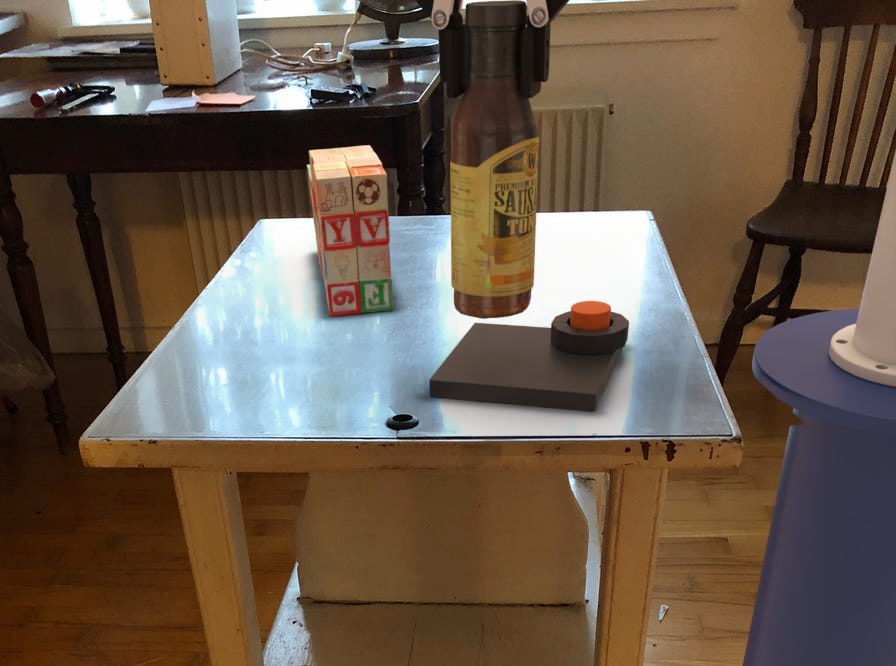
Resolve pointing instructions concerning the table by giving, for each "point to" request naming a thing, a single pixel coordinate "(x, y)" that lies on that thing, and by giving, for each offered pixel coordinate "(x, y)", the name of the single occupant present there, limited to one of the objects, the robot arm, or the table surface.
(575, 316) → the button
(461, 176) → the sauce bottle
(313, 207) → the stack of blocks
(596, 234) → the table surface
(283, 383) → the table surface
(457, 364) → the scale
